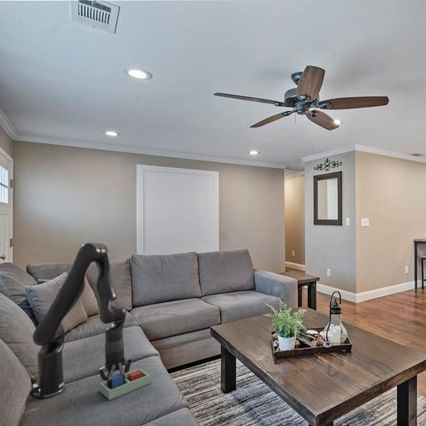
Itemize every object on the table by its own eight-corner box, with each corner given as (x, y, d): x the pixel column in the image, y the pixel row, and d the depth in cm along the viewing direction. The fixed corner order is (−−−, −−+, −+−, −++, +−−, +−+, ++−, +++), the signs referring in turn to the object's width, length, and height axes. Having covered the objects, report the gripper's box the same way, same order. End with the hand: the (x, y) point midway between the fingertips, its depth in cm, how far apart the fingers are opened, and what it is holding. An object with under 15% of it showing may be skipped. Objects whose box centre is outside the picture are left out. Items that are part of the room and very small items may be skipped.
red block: (131, 385, 156) (131, 376, 156) (128, 382, 159) (127, 373, 159) (141, 381, 159) (141, 372, 159) (137, 378, 162) (137, 370, 162)
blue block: (112, 389, 149) (112, 379, 149) (109, 386, 152) (108, 376, 152) (123, 384, 153) (122, 375, 153) (119, 382, 156) (119, 373, 156)
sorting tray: (109, 400, 145) (109, 391, 145) (100, 391, 152) (99, 383, 152) (149, 383, 159) (149, 375, 159) (139, 376, 166) (139, 368, 166)
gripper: (127, 342, 160) (129, 376, 160) (94, 352, 149) (95, 389, 149) (134, 345, 156) (135, 380, 156) (100, 356, 145) (101, 394, 145)
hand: (116, 384), depth 153 cm, fingers closed on blue block, 4 cm apart
